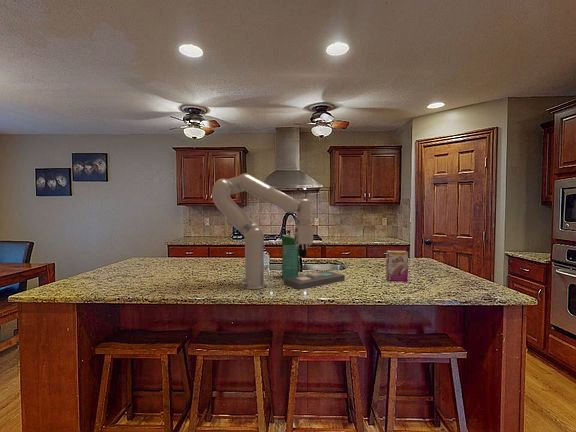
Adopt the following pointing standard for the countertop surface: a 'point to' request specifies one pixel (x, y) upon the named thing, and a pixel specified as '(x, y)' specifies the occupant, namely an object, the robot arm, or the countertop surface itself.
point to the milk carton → (289, 257)
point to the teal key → (326, 274)
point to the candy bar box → (397, 266)
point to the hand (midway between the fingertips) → (303, 256)
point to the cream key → (303, 278)
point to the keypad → (313, 280)
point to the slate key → (314, 275)
